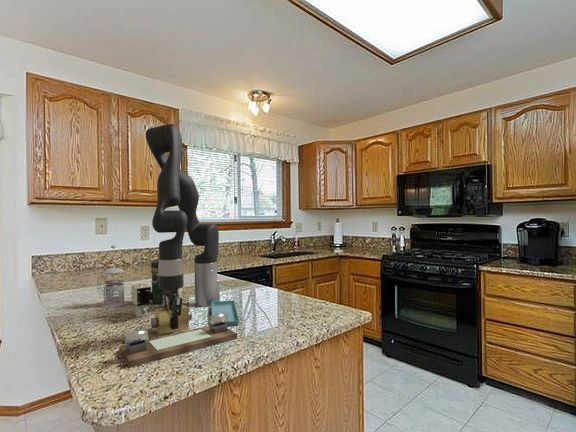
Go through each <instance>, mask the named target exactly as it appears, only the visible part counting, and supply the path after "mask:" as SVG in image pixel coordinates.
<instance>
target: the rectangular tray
mask: <svg viewBox="0 0 576 432" xmlns="http://www.w3.org/2000/svg"><path fill="white" fill-rule="evenodd" d="M224 312H226V313H227V314H228V322H225V323H227V324H228V326H238V325H239V323H240V320H241V319H240V317H239V313H238V310H237V305H236V302H235V300H223V301H222V300H220V301H218V302H212V305H211V315H214V314H219V313H224Z"/></svg>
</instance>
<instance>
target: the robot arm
mask: <svg viewBox="0 0 576 432" xmlns="http://www.w3.org/2000/svg"><path fill="white" fill-rule="evenodd" d="M145 140H146V143H147V145H148V147H149V149H150V151H151V153H152V155H153V157H154V159H155V161H156V162H157V164H158V166H159V167H160V170H161V171H160V173H159V175H158V178H157V184H156V188H157V189H156V191H157V192H156V194H157V195H156V196H157V197H156V198H157V201H156V207H155V211H154V214H153V217H152V222H151V223H152V228H153V230H154V231H155V232H156V233H159V234H160V233H161V234H162V233H163V234H164V233H175V235H174V237H172V238H169V239H165V240H162V241H160V242H159V244H158V259H159V265H158V282H159V289H161V290H164V292H161V297H162V303H161V305H162V307H161V308H168V310H170V325H171V329H172V330H173V329H177V328H178V316H181V311H182V305H183V297H180V293H179V289H182V288H183V287H184V286H185V284H184V282H185V281H184V279H185V278H184V261H183V241H184V237H185V233H186V231H187V235H188V237H189V240H190V242H191V243H192V244H193V245H194V246H198V247H204V248H203V249H204V250H203V252H201V253H199V254H196V255H195V256H194V261H193V262H194V268H193V269H194V304H195V306H198V307H210V306H212V302H218V301H221V300H220V297H221V295H220V292H221V291H220V279H218V256H219V243H220V242H219V241H220V238H219V237H220V232H219V229H218V227H217V225H216V224H214V223H201V222H200V221H199V219H198V216H197V209H198V204H199V199H200V194H199V191H198V189H197V186H196V183H195V181H194V179H193V178H192V176H190V175H189V174H188V173H186V171H184V170H183V169H181V163H182V155H183V154H182V152H183V137H182V133H181V130H180V129H179V128H178V126H177V125H176V124H174V123H168V124H167V123H166V124H162V125H158V126H154V127H153V126H152V127H151V128H147V129H146V130H145ZM167 153H168V154H167ZM176 206H177V207H178V210H166V209H169V208H173V207H176ZM175 310H176V312H175Z"/></svg>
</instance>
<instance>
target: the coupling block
mask: <svg viewBox="0 0 576 432" xmlns="http://www.w3.org/2000/svg"><path fill="white" fill-rule="evenodd" d="M175 312H176V310H175ZM192 318H193V316H192V312H191V310H189V307H188V306H186V305H185V304H182V311H181V316H178V328H177V329H173V330H172V329H171V325H170V310H168V308H163V307H161V308H155V309H154V317H152V318H150V326H151V329H154V332H155V333H156V334H157V335H158V337H161V336H165V335H167V334H168V335H170V334H174V333H179V332H183V331H188V330H189V322H190V321H192Z"/></svg>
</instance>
